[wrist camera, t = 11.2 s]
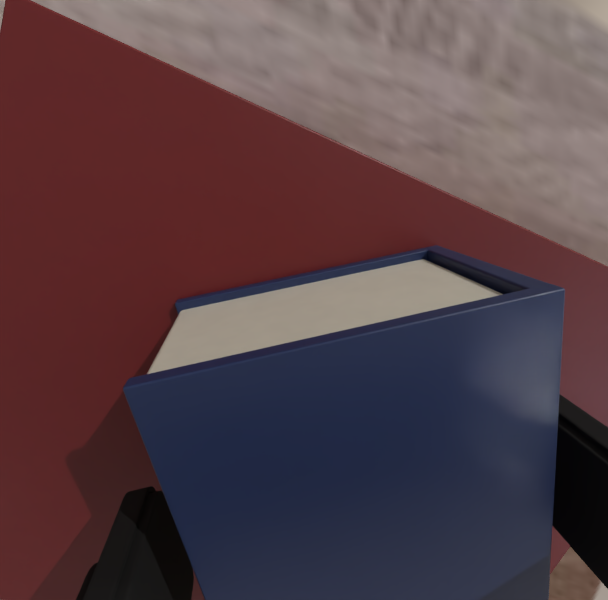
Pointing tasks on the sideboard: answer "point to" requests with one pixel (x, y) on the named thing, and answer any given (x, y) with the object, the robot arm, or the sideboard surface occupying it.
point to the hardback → (178, 263)
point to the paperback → (362, 431)
